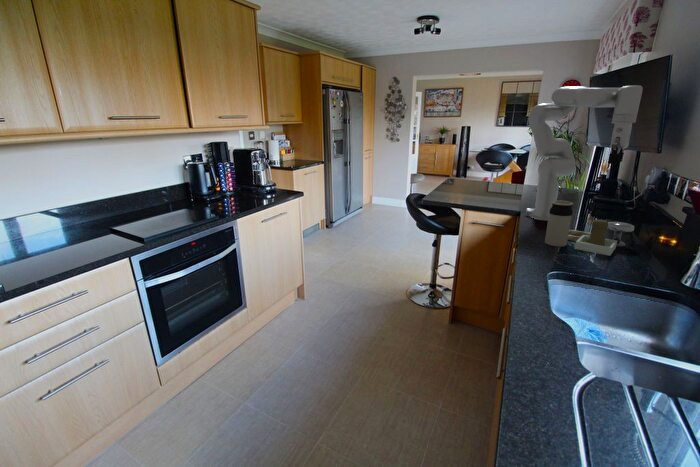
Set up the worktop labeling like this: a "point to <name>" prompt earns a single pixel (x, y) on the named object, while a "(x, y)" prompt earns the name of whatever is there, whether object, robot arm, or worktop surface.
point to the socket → (577, 233)
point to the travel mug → (559, 223)
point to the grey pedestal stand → (619, 231)
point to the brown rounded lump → (598, 232)
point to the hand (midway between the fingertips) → (614, 162)
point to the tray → (596, 246)
